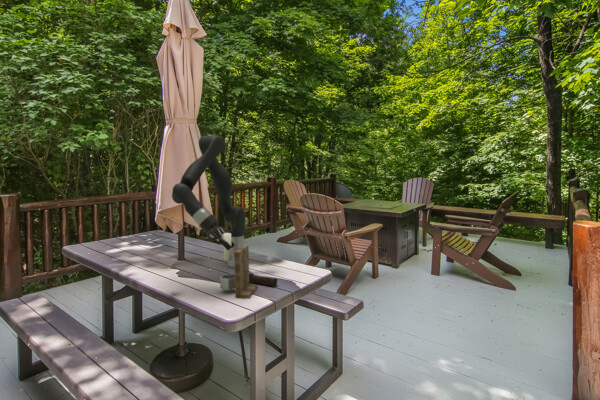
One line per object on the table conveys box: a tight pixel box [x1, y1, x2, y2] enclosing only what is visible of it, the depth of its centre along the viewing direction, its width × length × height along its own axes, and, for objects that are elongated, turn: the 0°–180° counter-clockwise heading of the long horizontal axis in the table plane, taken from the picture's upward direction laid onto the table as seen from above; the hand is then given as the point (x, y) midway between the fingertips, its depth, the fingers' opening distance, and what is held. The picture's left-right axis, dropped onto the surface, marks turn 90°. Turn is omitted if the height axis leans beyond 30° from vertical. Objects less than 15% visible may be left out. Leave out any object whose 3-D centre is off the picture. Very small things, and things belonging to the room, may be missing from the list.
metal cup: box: [219, 273, 235, 291], centre depth 152 cm, size 7×9×5 cm
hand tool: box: [249, 272, 278, 288], centre depth 163 cm, size 19×4×5 cm, turn 64°
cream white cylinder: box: [222, 233, 232, 262], centre depth 151 cm, size 4×4×12 cm
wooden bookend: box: [234, 245, 259, 299], centre depth 150 cm, size 12×6×20 cm, turn 169°
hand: (231, 247), depth 150 cm, fingers closed on cream white cylinder, 3 cm apart
